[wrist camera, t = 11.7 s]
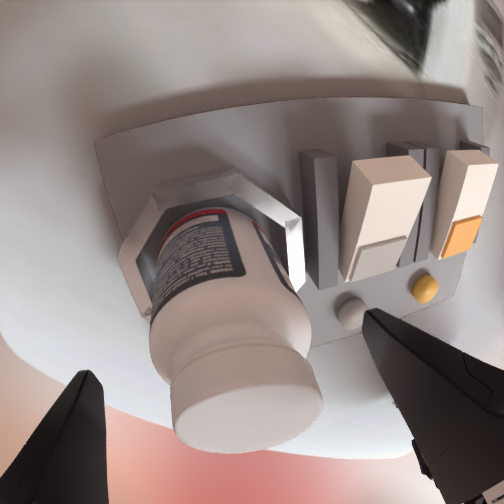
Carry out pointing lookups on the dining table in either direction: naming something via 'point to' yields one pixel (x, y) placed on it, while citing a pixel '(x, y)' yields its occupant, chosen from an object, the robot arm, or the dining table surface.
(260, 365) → the pill bottle
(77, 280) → the dining table surface
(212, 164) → the panel
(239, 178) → the socket
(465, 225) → the block
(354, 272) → the breaker
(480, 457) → the robot arm
